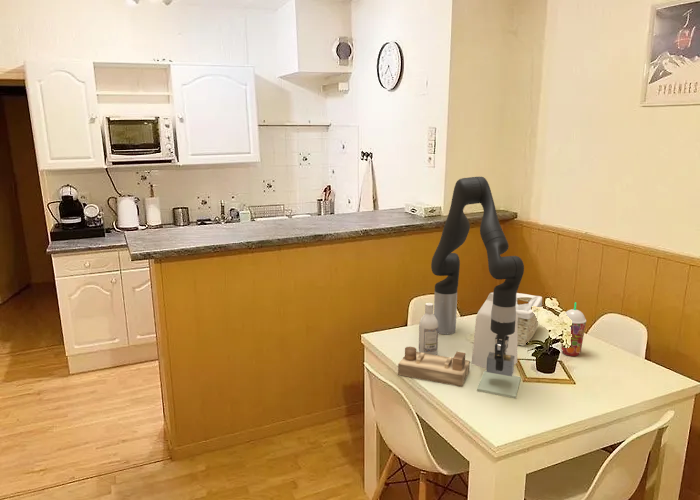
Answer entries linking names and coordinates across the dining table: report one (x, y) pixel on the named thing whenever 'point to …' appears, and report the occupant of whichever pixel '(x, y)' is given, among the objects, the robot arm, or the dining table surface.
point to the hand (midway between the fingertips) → (500, 366)
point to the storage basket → (526, 317)
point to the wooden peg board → (434, 367)
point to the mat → (499, 384)
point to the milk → (489, 336)
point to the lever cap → (507, 364)
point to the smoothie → (575, 332)
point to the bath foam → (428, 331)
